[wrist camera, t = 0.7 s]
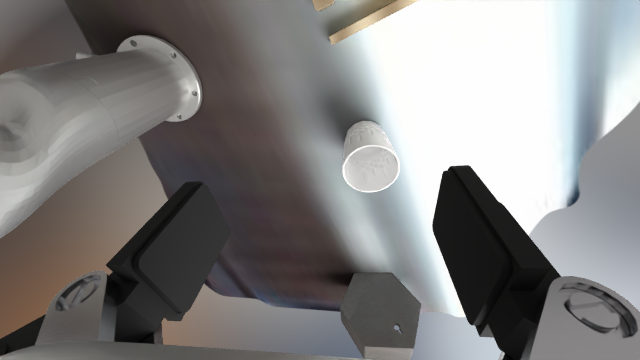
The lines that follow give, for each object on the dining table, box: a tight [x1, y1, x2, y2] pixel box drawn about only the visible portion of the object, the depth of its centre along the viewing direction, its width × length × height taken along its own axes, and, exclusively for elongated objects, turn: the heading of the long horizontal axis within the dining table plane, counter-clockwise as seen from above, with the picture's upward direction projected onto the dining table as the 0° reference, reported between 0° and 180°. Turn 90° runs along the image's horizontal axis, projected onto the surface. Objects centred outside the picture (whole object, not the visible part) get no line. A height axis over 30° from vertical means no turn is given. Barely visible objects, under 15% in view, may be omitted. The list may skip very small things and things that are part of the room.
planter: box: [340, 273, 421, 360], centre depth 58 cm, size 17×8×21 cm
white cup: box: [342, 121, 400, 192], centre depth 36 cm, size 8×8×10 cm
